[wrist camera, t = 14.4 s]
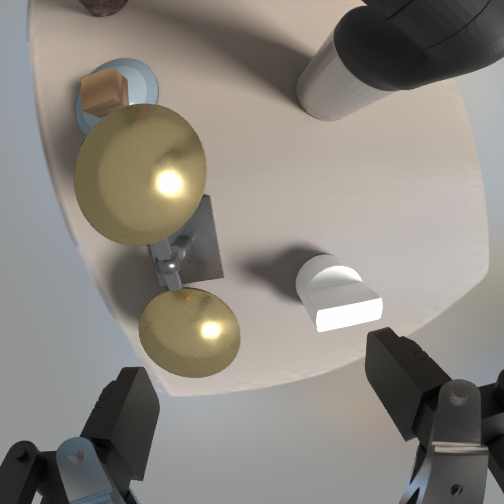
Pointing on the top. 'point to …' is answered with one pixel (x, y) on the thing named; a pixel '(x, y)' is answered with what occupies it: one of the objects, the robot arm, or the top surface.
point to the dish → (139, 89)
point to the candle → (103, 6)
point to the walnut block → (104, 92)
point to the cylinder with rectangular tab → (335, 294)
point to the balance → (161, 230)
